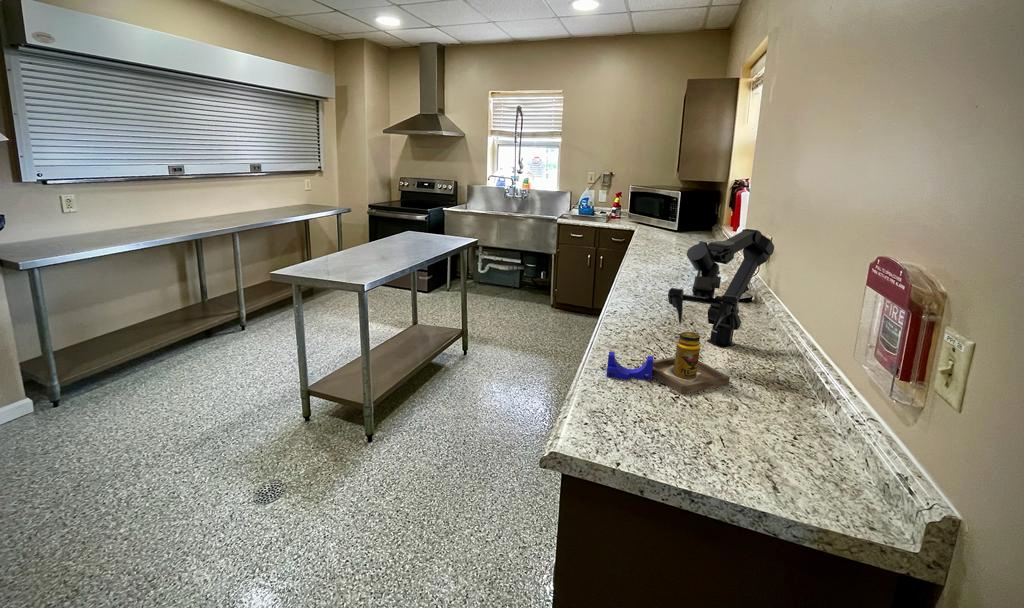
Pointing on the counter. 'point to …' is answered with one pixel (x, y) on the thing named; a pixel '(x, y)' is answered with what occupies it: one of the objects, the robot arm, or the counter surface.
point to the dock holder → (702, 382)
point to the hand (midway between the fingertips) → (696, 326)
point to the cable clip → (624, 373)
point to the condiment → (686, 357)
